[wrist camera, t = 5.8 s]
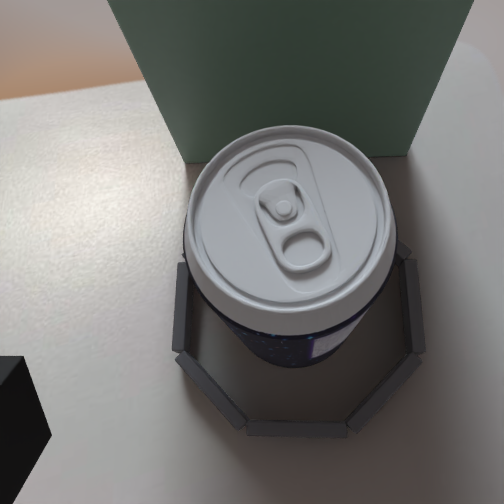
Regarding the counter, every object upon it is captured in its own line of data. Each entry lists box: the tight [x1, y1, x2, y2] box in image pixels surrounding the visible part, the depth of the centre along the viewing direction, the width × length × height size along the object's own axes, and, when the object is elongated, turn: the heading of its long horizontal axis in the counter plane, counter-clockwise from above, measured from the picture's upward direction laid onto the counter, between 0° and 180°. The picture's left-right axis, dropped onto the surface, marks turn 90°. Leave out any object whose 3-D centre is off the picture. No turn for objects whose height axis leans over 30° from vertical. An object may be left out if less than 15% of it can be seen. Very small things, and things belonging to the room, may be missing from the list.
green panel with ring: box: [107, 0, 474, 438], centre depth 15 cm, size 15×12×16 cm
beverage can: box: [183, 125, 398, 368], centre depth 17 cm, size 6×6×12 cm
